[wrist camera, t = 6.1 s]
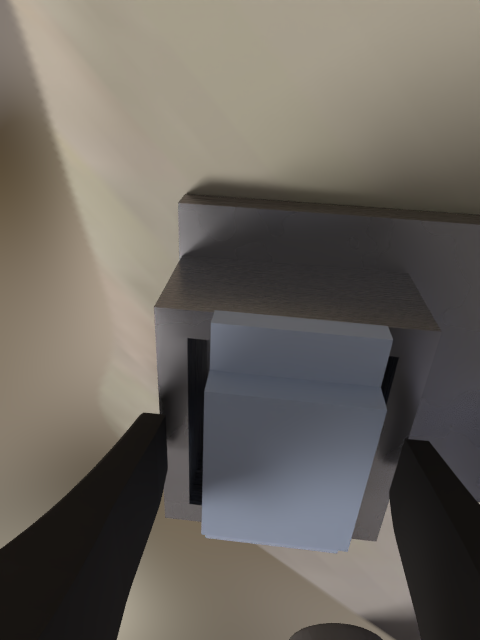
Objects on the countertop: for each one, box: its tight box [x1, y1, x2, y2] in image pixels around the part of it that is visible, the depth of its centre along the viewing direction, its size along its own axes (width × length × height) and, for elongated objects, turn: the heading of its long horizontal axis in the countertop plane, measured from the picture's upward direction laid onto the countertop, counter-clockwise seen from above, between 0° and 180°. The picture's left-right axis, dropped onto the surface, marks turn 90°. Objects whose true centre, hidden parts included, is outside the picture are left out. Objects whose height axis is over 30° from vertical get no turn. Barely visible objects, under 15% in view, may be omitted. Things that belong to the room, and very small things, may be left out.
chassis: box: [154, 194, 480, 541], centre depth 14 cm, size 11×15×4 cm
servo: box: [202, 310, 393, 553], centre depth 13 cm, size 8×4×5 cm, turn 177°
